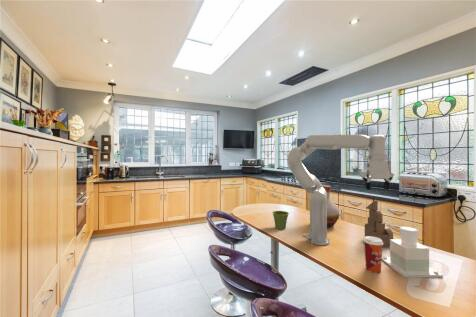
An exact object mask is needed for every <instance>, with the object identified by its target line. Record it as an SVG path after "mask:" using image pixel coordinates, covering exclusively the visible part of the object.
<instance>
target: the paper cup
mask: <svg viewBox="0 0 476 317" xmlns="http://www.w3.org/2000/svg"><path fill="white" fill-rule="evenodd" d="M363 244H364V256H365V257H364V258H365V268H366V270H367V271H368V272H371V273H376V274H379V273H381V272H382V262H383V261H382V257H383V246H382V245H383V242H382V240H381V239H380V238H377V237H372V236H366V237H365V236H364V238H363Z"/></svg>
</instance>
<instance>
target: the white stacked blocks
mask: <svg viewBox="0 0 476 317" xmlns="http://www.w3.org/2000/svg"><path fill="white" fill-rule="evenodd" d="M381 262H383V263H385V264H386V265H387V266H389V267H390V268H391V269H392V270H394V271H396V272H397V273H398V274H399V275H400V276H402V277H403V278H444V275H443V274H442V273H440V272H439V271H437V270H435V269H433V268H432V267H430V248H429V247H427V246H425V245H423V244H421V243H419V242H417V245H416V246H409V245H405V244H403V243H401V238H400V239H394V238H393V239H390V246H389V256H383V255H382V261H381Z"/></svg>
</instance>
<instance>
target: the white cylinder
mask: <svg viewBox="0 0 476 317" xmlns="http://www.w3.org/2000/svg"><path fill="white" fill-rule="evenodd" d="M399 236H400V239H401V243H403V244H405V245H409V246H416V245H417V243H418V237H419V229H418V228H415V227H413V226H406V225H405V226H402V225H401V226H399Z"/></svg>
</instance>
